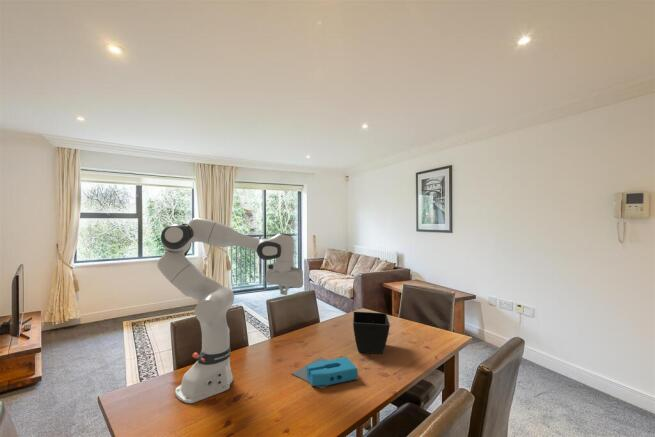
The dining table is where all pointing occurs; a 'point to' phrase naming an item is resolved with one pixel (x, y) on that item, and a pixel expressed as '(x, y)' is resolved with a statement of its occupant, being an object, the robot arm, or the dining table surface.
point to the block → (331, 372)
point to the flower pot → (370, 331)
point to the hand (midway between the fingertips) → (283, 294)
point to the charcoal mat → (303, 372)
